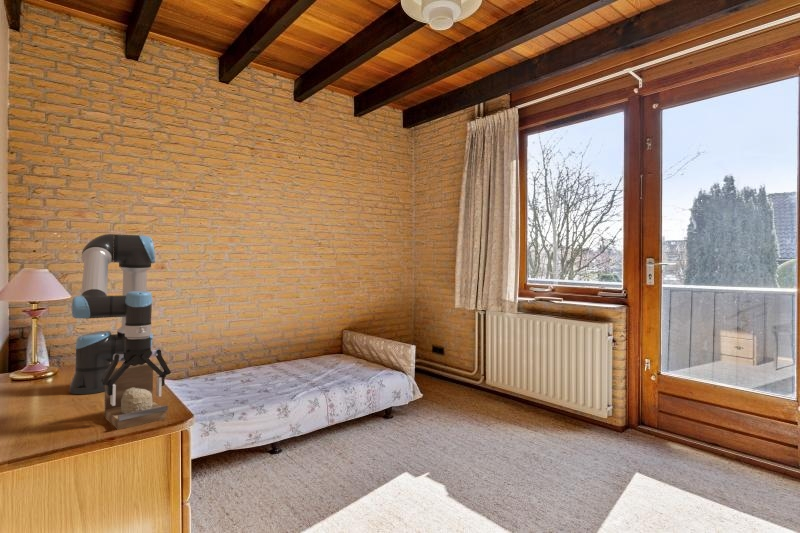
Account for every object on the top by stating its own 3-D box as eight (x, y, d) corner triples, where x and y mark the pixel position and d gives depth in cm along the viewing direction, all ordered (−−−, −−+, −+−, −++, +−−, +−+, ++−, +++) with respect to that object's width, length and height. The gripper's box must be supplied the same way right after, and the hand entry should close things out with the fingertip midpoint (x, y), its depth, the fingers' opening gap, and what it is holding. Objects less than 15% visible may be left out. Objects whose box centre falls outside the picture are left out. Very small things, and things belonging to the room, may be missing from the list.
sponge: (139, 416, 145) (123, 392, 145) (163, 400, 146) (147, 377, 146) (123, 426, 136) (106, 401, 136) (149, 409, 137) (131, 384, 136)
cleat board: (104, 417, 141) (105, 369, 142) (150, 407, 152) (151, 363, 152) (118, 430, 130) (119, 379, 130) (167, 419, 140) (168, 371, 141)
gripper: (96, 343, 129) (94, 411, 129) (181, 334, 148) (180, 394, 148) (90, 339, 134) (88, 405, 134) (173, 332, 153) (172, 390, 153)
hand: (136, 400), depth 141 cm, fingers open, 13 cm apart
